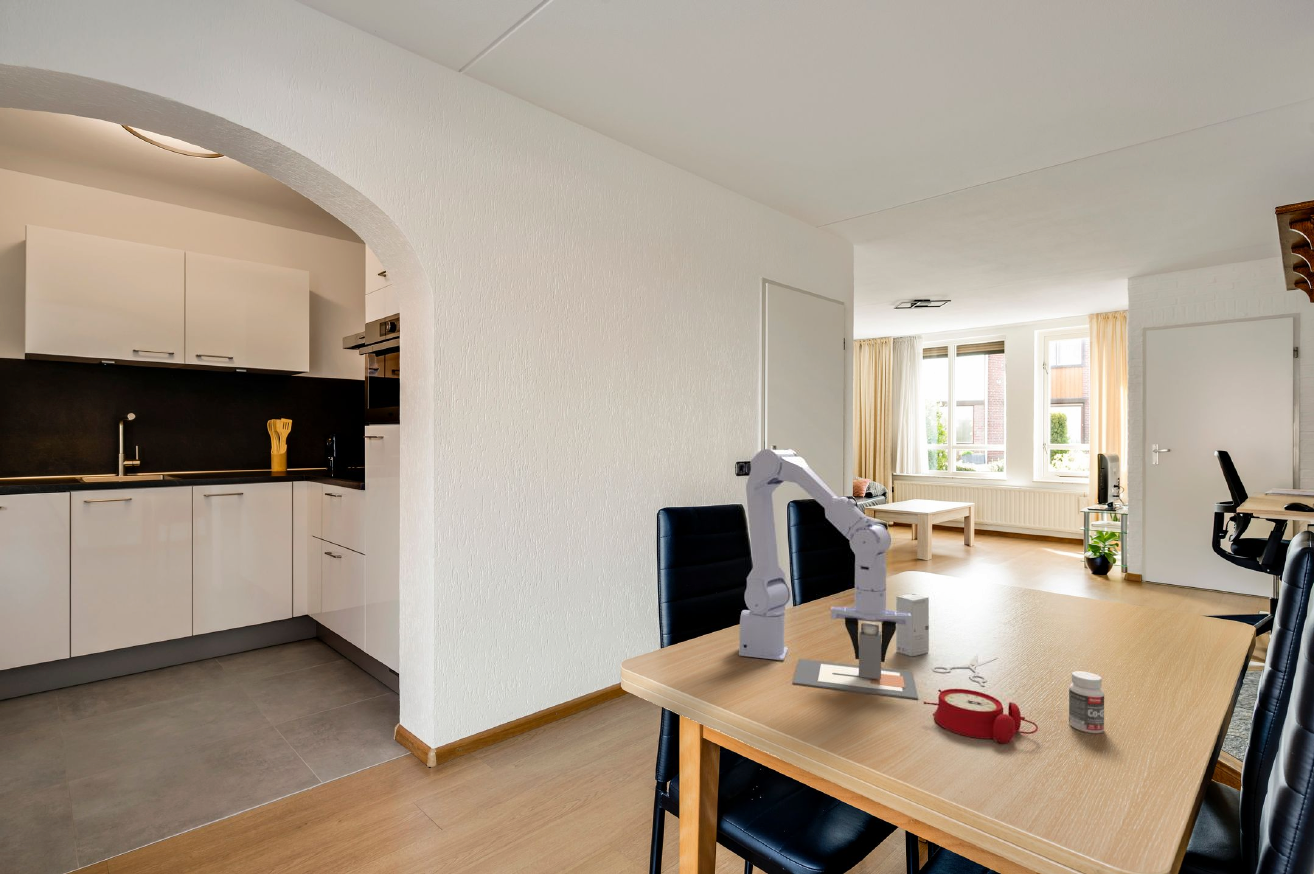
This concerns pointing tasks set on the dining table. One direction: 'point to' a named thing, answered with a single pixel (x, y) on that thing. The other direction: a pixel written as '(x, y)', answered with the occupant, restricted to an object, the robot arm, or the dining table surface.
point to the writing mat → (855, 679)
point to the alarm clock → (977, 715)
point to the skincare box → (913, 625)
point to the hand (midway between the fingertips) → (869, 659)
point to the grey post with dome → (870, 651)
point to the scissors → (971, 666)
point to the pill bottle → (1086, 702)
